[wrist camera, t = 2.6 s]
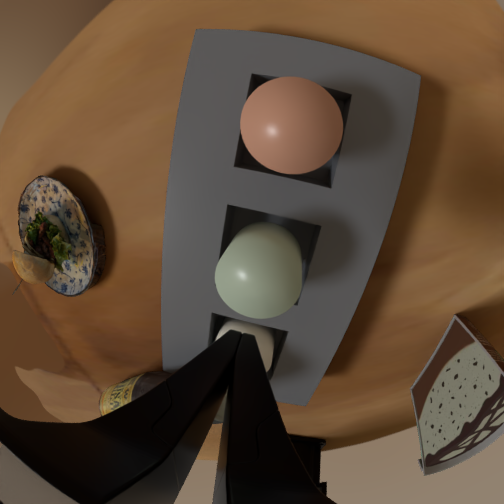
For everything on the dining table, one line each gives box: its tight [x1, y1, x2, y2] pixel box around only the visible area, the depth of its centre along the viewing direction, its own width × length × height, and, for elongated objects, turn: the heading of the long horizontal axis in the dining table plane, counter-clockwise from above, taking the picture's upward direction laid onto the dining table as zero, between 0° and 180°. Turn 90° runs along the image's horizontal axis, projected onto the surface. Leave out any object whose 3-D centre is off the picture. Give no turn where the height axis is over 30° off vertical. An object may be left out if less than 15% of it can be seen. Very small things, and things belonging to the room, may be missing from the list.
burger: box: [12, 175, 106, 297], centre depth 18 cm, size 12×12×8 cm
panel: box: [161, 29, 421, 406], centre depth 17 cm, size 12×24×3 cm, turn 170°
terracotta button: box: [240, 77, 343, 174], centre depth 11 cm, size 4×4×3 cm
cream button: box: [215, 316, 276, 372], centre depth 18 cm, size 4×4×3 cm
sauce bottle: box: [99, 371, 228, 424], centre depth 21 cm, size 6×6×20 cm
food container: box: [410, 314, 504, 476], centre depth 15 cm, size 12×6×10 cm, turn 173°
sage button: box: [215, 222, 302, 319], centre depth 14 cm, size 4×4×3 cm
